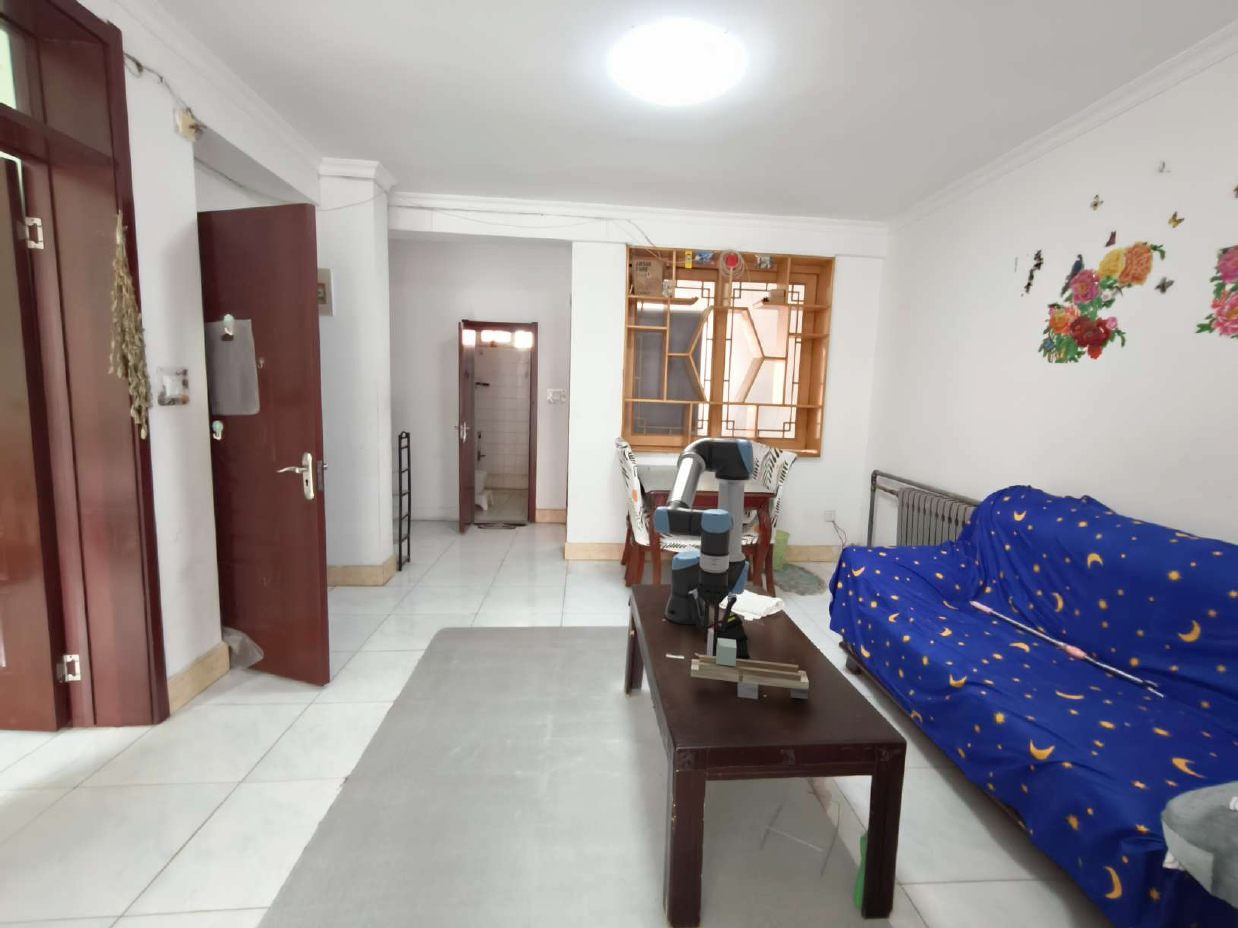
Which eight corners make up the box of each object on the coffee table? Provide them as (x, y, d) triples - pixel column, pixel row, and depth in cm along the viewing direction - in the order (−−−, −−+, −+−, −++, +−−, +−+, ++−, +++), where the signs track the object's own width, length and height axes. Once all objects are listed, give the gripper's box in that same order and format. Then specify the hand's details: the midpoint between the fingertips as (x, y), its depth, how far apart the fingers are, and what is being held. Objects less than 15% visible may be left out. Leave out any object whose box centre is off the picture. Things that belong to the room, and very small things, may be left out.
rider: (715, 662, 148) (717, 637, 147) (734, 664, 147) (735, 639, 146) (715, 671, 143) (717, 645, 142) (735, 673, 142) (736, 647, 142)
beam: (691, 679, 151) (692, 653, 150) (803, 692, 145) (805, 665, 144) (689, 690, 144) (691, 663, 143) (807, 705, 139) (809, 676, 138)
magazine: (759, 662, 158) (740, 617, 156) (718, 680, 158) (698, 635, 156) (756, 656, 162) (737, 612, 160) (715, 673, 162) (696, 630, 160)
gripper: (688, 570, 140) (684, 657, 143) (739, 575, 138) (734, 663, 141) (689, 562, 148) (686, 645, 150) (738, 566, 145) (734, 650, 148)
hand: (709, 653), depth 146 cm, fingers closed
